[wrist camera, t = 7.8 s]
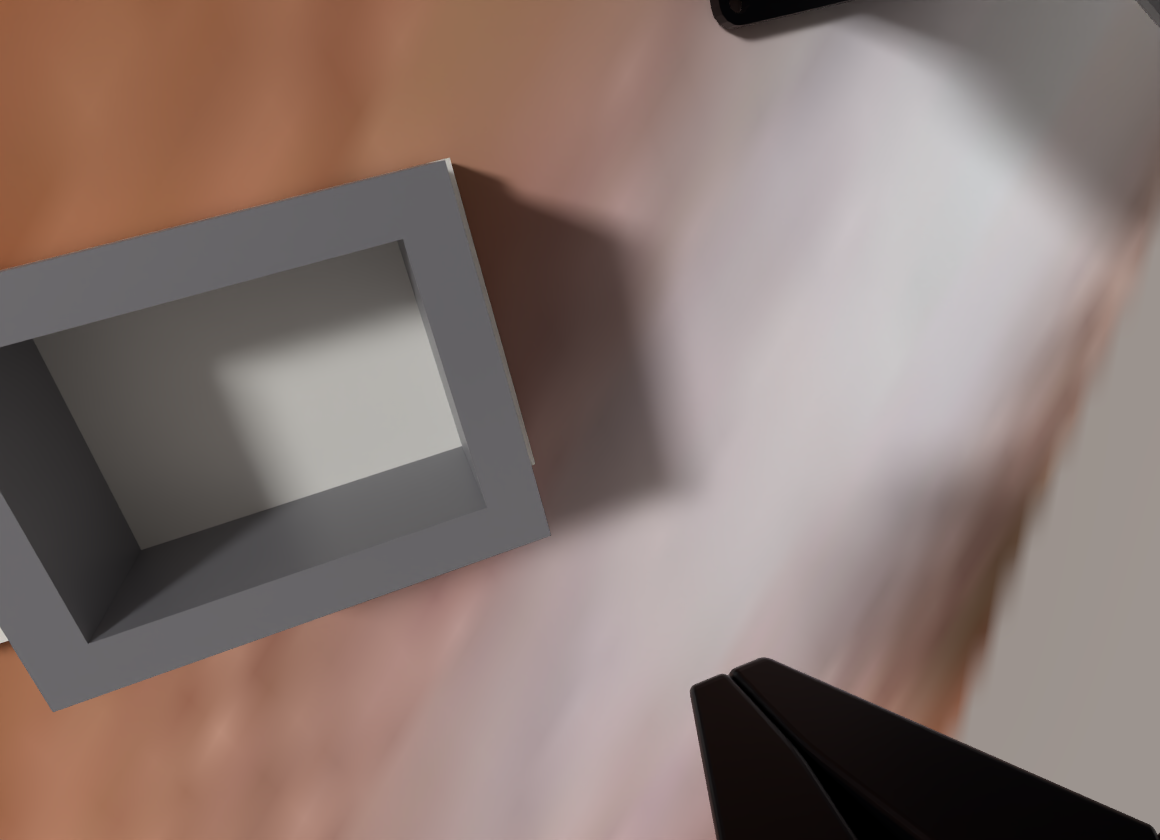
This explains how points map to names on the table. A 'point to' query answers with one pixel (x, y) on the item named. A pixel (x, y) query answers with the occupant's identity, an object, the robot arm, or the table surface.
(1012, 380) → the table surface
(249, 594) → the grey open storage bin
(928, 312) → the table surface
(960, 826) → the robot arm
